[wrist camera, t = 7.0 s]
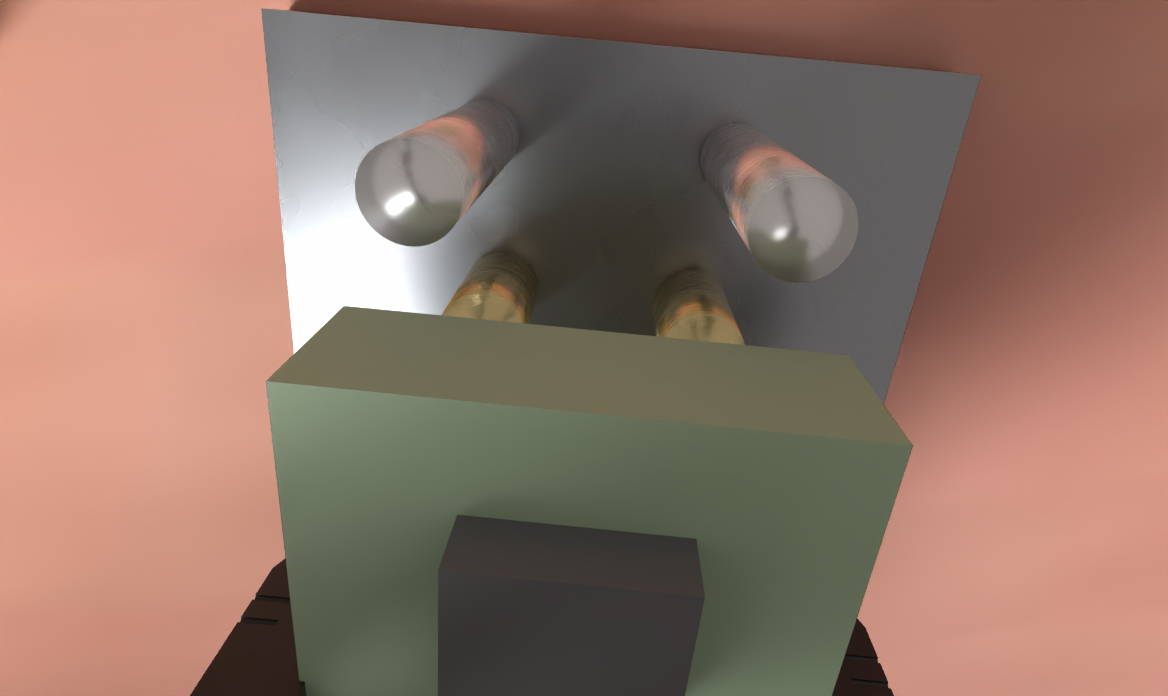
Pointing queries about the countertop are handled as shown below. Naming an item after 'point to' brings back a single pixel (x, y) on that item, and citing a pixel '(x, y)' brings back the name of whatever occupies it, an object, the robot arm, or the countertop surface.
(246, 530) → the countertop surface
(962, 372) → the countertop surface
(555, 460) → the board
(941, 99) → the chassis
